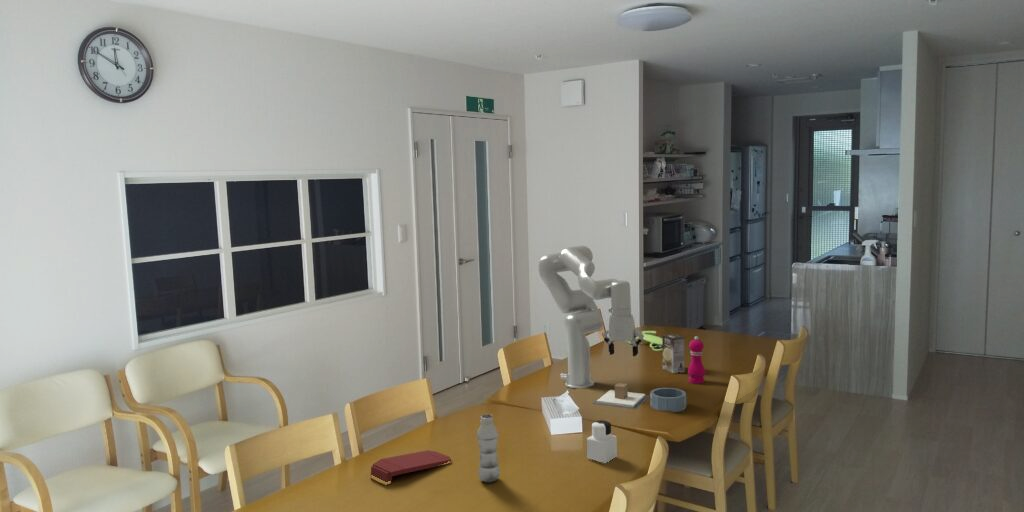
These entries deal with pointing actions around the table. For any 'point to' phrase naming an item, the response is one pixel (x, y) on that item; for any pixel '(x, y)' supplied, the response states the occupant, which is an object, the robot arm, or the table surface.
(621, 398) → the cover
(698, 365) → the pepper mill
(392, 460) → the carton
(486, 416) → the plastic bottle
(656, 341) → the figurine
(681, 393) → the bowl
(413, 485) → the table surface
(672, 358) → the coffee box
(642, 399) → the mat
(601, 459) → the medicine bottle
